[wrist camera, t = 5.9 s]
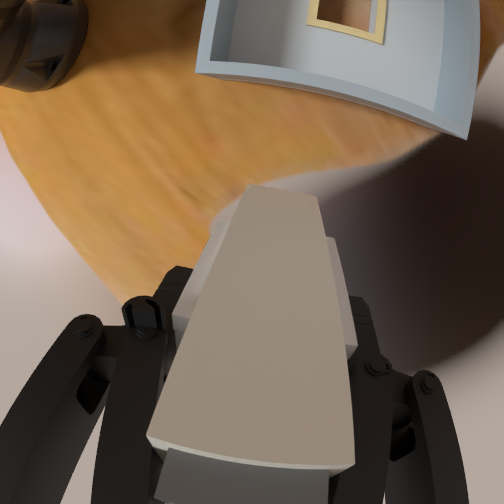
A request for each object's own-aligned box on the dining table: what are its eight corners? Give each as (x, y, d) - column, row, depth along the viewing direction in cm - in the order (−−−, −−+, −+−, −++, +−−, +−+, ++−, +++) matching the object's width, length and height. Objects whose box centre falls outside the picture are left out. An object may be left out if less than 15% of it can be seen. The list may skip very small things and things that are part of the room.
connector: (240, 242, 18) (161, 503, 5) (248, 183, 16) (128, 487, 3) (301, 253, 18) (296, 523, 5) (316, 196, 16) (355, 516, 3)
